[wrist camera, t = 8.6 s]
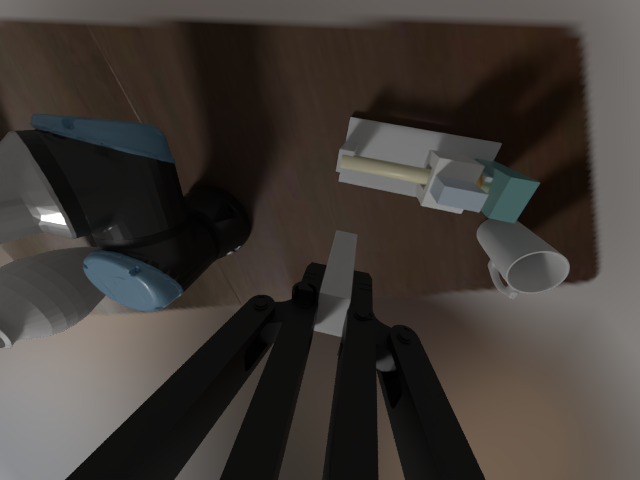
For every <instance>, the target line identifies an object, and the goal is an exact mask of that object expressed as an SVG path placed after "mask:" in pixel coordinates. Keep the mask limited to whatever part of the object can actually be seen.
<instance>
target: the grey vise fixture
mask: <svg viewBox="0 0 640 480" xmlns="http://www.w3.org/2000/svg"><path fill="white" fill-rule="evenodd" d="M501 145H502V143H498V142H493V141H487V140H481V139H475V138H470V137H464V136H458V135H452V134H447V133H441V132H435V131H429V130H424V129H418V128H412V127H406V126H401V125H395V124H389V123H383V122H378V121H372V120H366V119H360V118H355V117H350V123H349V128H348V133H347V139H346V142H345V143H344V145H343V146H342V147H341V148H340V151H339V156H338V162H337V168H336V172H340V176H339V181H340V182H345V183H350V184H355V185H360V186H365V187H370V188H374V189H379V190H384V191H389V192H394V193H399V194H404V195H409V196H414V197H417V195H416V193H415V189H416V186H417V184H418V183H419V184H425V185H426V183H427V180H428V178H429V175H430V172H431V169H426V168H423V167H424V164H425V162H426V159H427V156H428V153H429V151H430V150H435V151H441V152H446V153H452V154H457V155H463V156H468V157H470V158H471V159H473V160H475V161H477V162H478V163H480V164H482V165H484V166H485V167H484V169H483V171H482V173H481V175H480V177H479V179H478V181H477V183H476V185H477V186H479V187H480V188H481V189H482V190H484V191H485V192H486V193H487V194H489V195H488V197H487V199H486V201H485V203H484V205H483V207H482V208H481V211H482V212H483V213H484V214H485V215H486V216H487V217H488V218H490V219H495V220H500V221H505V222H510V223H515V222H516V220H517V219H518V217H519V216H520V214H521V212H522V211H523V209H524V208H525V206H526V205H527V203H528V201H529V200H530V198H531V197H532V195H533V194H534V192H535V190H536V189H537V187H538V186H539V184H540V182H538V181H536V180H533V179H531V178H529V177H527V176H525V175H523V174H521V173H519V172H517V171H514V170H512V169H510V168H508V167H506V166H504V165H502V164H500V163H498V162H496V161H494V159H495V157H496V155H497V153H498V151H499V149H500V147H501Z"/></svg>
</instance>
